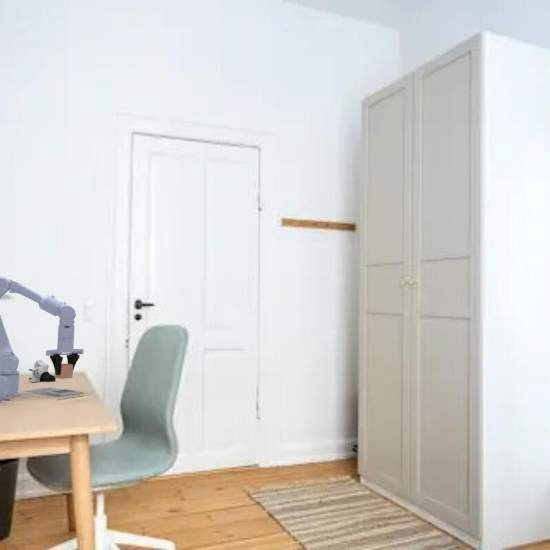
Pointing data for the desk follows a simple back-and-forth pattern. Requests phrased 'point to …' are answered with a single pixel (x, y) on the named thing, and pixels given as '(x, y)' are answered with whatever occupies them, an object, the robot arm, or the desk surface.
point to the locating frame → (55, 392)
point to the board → (43, 390)
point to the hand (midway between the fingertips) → (64, 374)
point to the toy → (41, 373)
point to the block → (65, 371)
